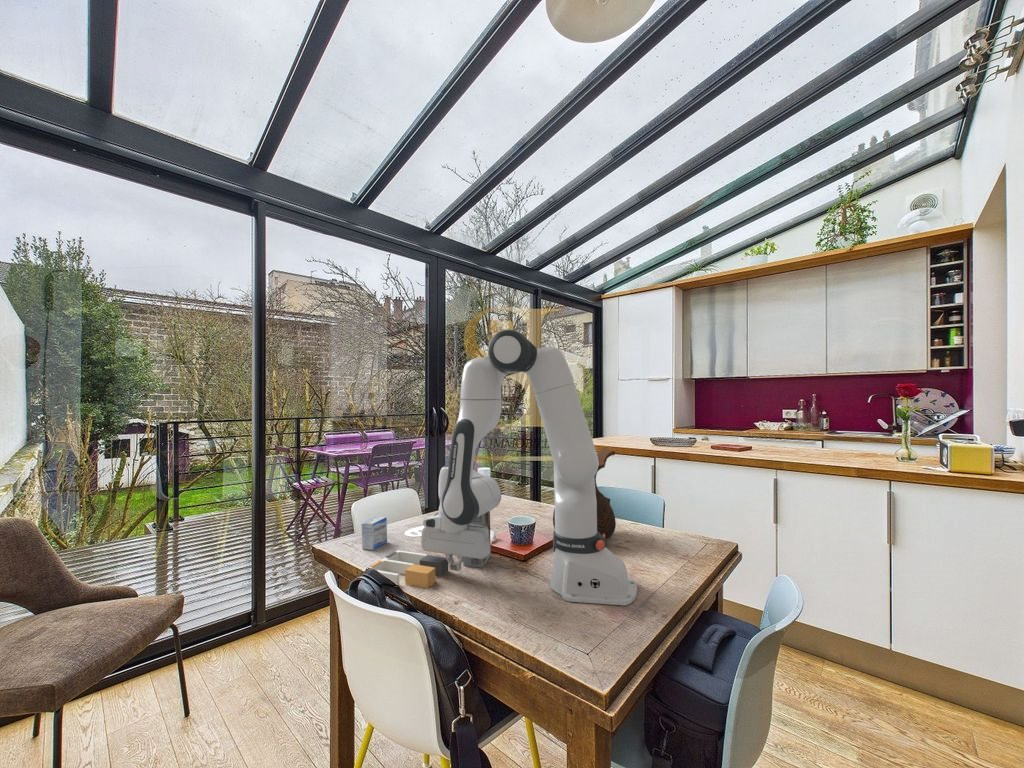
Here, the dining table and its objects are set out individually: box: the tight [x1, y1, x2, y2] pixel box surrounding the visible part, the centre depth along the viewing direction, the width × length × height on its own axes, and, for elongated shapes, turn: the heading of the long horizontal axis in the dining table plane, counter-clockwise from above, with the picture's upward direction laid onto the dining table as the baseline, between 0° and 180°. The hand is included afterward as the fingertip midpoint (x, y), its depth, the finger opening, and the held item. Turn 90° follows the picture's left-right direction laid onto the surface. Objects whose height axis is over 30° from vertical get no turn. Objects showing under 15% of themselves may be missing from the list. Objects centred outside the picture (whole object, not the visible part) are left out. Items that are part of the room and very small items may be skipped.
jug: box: [552, 447, 617, 542], centre depth 150 cm, size 22×22×30 cm
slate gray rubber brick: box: [420, 554, 449, 578], centre depth 126 cm, size 7×4×4 cm, turn 69°
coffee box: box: [462, 510, 492, 568], centre depth 134 cm, size 9×6×16 cm
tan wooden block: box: [404, 564, 437, 589], centre depth 119 cm, size 7×4×4 cm, turn 69°
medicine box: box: [361, 516, 388, 551], centre depth 147 cm, size 8×4×9 cm, turn 161°
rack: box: [364, 549, 428, 586], centre depth 126 cm, size 10×15×3 cm
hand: (455, 569), depth 123 cm, fingers closed
